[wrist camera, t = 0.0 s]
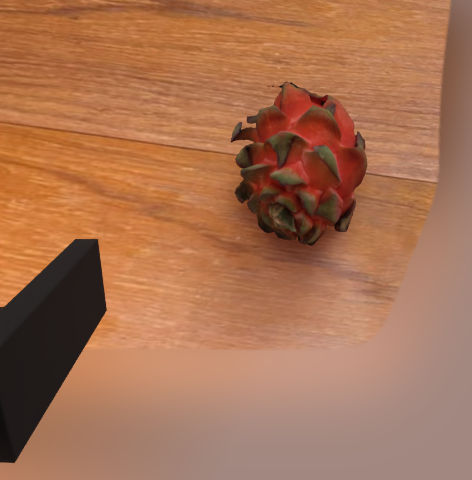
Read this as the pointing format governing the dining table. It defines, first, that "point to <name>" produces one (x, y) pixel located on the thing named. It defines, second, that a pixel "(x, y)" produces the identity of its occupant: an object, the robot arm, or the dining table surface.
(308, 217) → the dragon fruit
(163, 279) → the dining table surface
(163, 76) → the dining table surface
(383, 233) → the dining table surface
